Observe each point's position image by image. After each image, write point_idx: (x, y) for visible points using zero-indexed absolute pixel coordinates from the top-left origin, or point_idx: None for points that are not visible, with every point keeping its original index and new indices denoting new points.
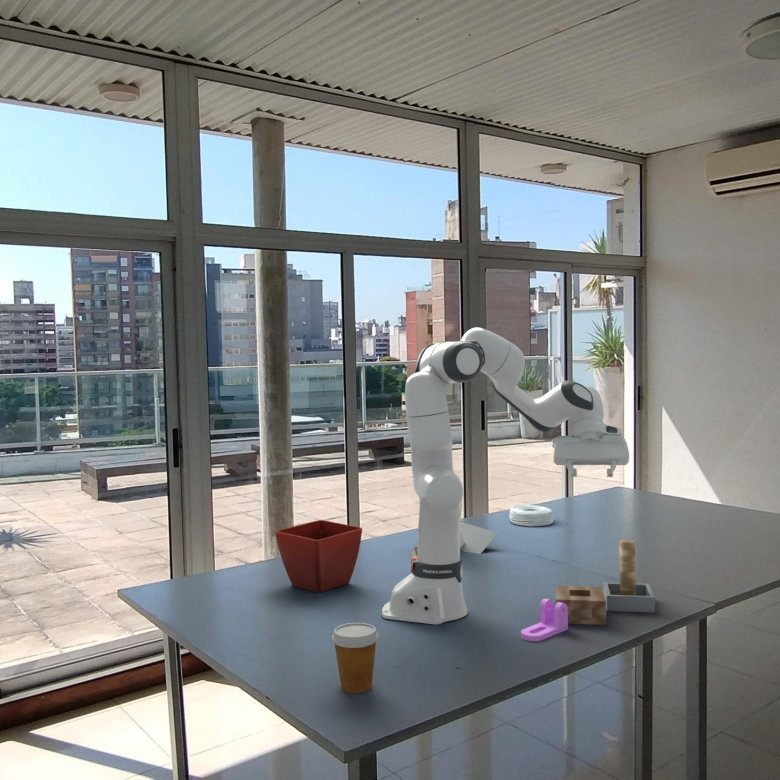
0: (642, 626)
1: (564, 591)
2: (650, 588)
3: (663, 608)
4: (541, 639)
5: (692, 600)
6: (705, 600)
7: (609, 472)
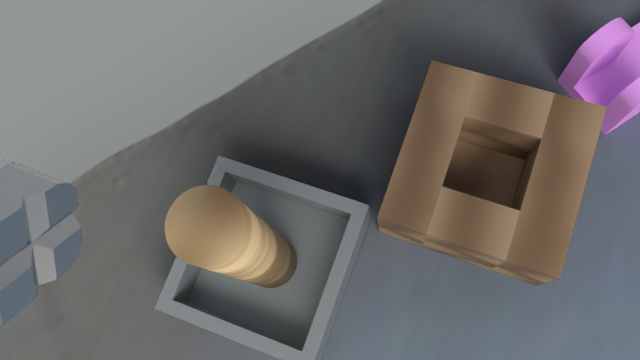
0: (327, 68)
1: (547, 192)
2: None
3: None
4: None
5: None
6: None
7: (23, 176)
